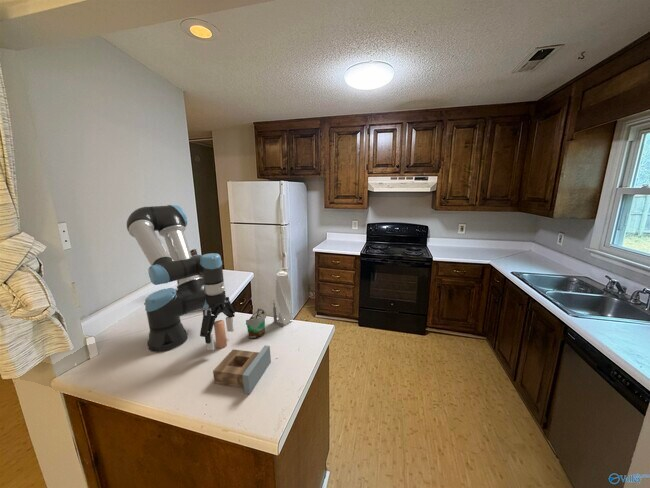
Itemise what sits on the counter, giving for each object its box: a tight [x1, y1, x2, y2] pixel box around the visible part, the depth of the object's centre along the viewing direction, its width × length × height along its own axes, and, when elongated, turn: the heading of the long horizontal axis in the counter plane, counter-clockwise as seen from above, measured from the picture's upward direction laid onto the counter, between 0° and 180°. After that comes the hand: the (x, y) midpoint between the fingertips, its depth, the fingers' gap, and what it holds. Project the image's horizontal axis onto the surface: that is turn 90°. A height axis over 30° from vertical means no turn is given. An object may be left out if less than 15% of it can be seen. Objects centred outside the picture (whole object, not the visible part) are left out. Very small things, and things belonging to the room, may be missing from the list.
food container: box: [245, 308, 267, 340], centre depth 118 cm, size 12×6×10 cm, turn 168°
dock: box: [242, 345, 272, 395], centre depth 92 cm, size 23×16×8 cm
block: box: [212, 348, 260, 389], centre depth 92 cm, size 12×12×5 cm
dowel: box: [213, 319, 228, 350], centre depth 108 cm, size 4×4×12 cm
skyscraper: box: [272, 266, 293, 327], centre depth 127 cm, size 8×8×28 cm
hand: (221, 339), depth 108 cm, fingers open, 13 cm apart
